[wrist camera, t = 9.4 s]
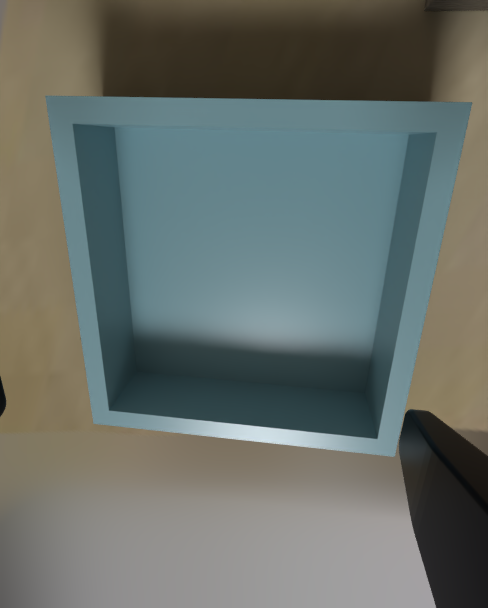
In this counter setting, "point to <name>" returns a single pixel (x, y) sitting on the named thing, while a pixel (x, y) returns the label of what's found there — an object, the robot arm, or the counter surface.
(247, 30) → the counter surface
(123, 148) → the bin
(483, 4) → the collar
